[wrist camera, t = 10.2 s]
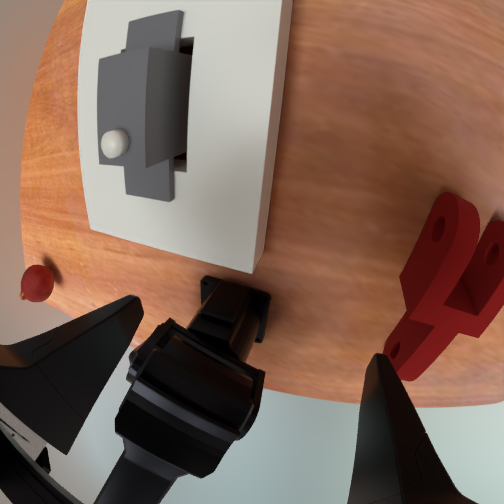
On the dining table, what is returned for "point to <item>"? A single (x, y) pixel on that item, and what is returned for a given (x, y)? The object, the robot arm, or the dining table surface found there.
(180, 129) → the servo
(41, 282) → the onion
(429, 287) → the mechanical linkage
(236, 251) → the frame
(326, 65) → the dining table surface
